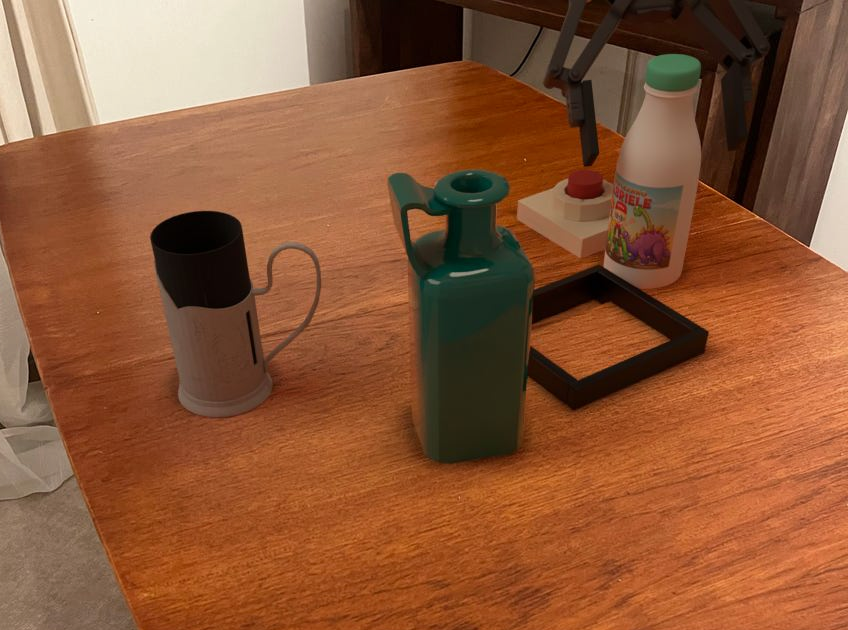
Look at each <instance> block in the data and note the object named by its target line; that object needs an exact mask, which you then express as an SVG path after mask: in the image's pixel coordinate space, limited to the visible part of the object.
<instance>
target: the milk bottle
mask: <svg viewBox="0 0 848 630" xmlns="http://www.w3.org/2000/svg"><path fill="white" fill-rule="evenodd" d="M701 70H702V64H701V62H700V60H699V59H698V58H696V57H694V56H691V55H687V54H681V53H666V54H660V55H657V56H654V57H653V58H651V59H649V61H648V62H647V65H646V67H645V76H644V80H645V82H644V85H643V89H644V91H645V95H644V100H643V102H642V105H641V108H640V109H639V112H638V114H637V115H636V118H635V120H634V122H633V123H632V125H631V127H630V128H629V130H628V132H627V134H626V136H625V138H624V139H623V142H622V144H621V147H620V151H619V153H618V157H617V162H616V167H615V174H614V180H613V185H614V187H613V194H612V201H611V209H610V217H609V224H608V232H607V240H606V248H605V250H604V259H603V267H604V268H605V269H607V270H609V271H611V272H612V273H614V274H616V275H617V276H619V277H620V278H622V279H624V280H625V281H627V282H629V283H630V284H632V285H634V286H635V287H637V288H638V289H640V290H651V289H660V288H665V287H667V286H669V285H671V284H673V283H675V282H676V281H678V280H679V279H680V277H681V275H682V272H683V267H684V262H685V257H686V252H687V246H688V241H689V236H690V229H691V226H692V220H693V213H694V208H695V202H696V196H697V191H698V185H699V179H700V173H701V172H700V171H701V166H702V165H701V164H702V146H701V139H700V135H699V131H698V127H697V123H696V119H695V112H694V94H695V93H696V92H697V90H698V83H699V81H700V77H701Z"/></svg>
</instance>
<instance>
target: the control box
mask: <svg viewBox="0 0 848 630" xmlns="http://www.w3.org/2000/svg"><path fill="white" fill-rule="evenodd" d="M567 186H568V178H565V179H563V180H560V181H558V182H557V183H556V184H555V185H554V187H551V188H549V189H546V190H543V191H540V192H538V193H534V194H532V195H529V196H526V197H524V198H521V199H519V200H517V209H516V210H517V211H516V220H517V221H518V222H520V223H521V224H524V225H525V226H526V227H528V228H530V229H532V230H533V231H535V232H536V233H538V234H539V235H541V236H542V237H545V238H546V239H547V240H549V241H551V242H553V243H554V244H556V245H558V246H559V247H561V248H562V249H564V250H565V251H567V252H569V253H571V254H572V255H573V256H575V257H577V258H578V259H584V258H586V257H589V256H592V255H594V254H596V253H599V252H602V251H605V248H606V240H607V232H608V224H609V217H610V209H611V201H612V194H613V187H614V183H611V182H609V181H607V180H606V179H604V178H603V184H602V193H601V196H600V197H597V198H594V199H585V200H582V199H577V198H572V197H570V196H568V195H567Z"/></svg>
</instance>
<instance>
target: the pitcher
mask: <svg viewBox="0 0 848 630" xmlns="http://www.w3.org/2000/svg"><path fill="white" fill-rule="evenodd" d="M387 189H388V196H389V202H390V207H391V208H390V209H391V214H392V219H393V223H394V227H395V230H396V232H397V234H398V237H399V240H400V242H401V244H402V247H403V250H404V251H405V255H406V256H407V290H408V294H407V295H408V327H409V329H408V330H409V359H410V361H409V366H410V395H411V396H410V397H411V398H410V400H411V401H410V402H411V420H412V424H413V426H414V429H415V432H416V435H417V437H418V441H419V443H420V446H421V449H422V453H423V455H425V457H427V458H428V459H429V460H431V461H434V462H437V463H440V464H454V463H460V462H462V463H463V462H468V461H475V460H480V459H488V458H493V457H500V456H506V455H510V454H513V453H515V452H517V451H518V450H519V449H520V448H521V446H522V445H523V442H524V435H525V422H526V421H525V420H526V409H527V394H528V393H527V392H528V380H529V376H528V367H529V353H530V346H531V338H532V337H531V336H532V325H533V324H532V312H533V298H534V289H535V282H536V275H535V274H536V273H535V270H534V267H533V264H532V262H531V261H530V259H529V256H528V255H527V253H526V252H525V250H524V248H523V246H522V245H521V243H520V241H519V240H518V238H517V236H516V234H515V233H514V231H512V230H511V229H510V228H508V227H506V226H504V225H499V224H497V219H498V218H497V216H498V215H497V214H498V204H499V203H501V202H502V201H504V200H505V199H506V198H507V197H508V196H509V195H510V190H511V183H509V181H508V179H507V178H506V177H505V176H503V175H501V174H500V173H497V172H494V171H491V170H486V169H473V168H470V169H462V170H456V171H453V172H450V173H447V174H445V175H443V176H442V177H440V178H439V179H438V180H437V181H436V182H435V184H434V186H433V187H429V186H425V185H422V184H421V183H420V182H418V181H416V179H415V178H414V177H413V176H411V175H410V174H408V173H406V172H396V173H393V174H391V175H390V176H389V177H388V178H387ZM411 210H421V211H422V212H424V213H425V214H426V215H428V216H430V217H443V216H445V229H437V230H433V231H429V232H426V233H424V234H422V235H421V236H419V237H418V238H416V239H415V240H414V241H413V240H411V231H410V223H409V216H408V211H411Z"/></svg>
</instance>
